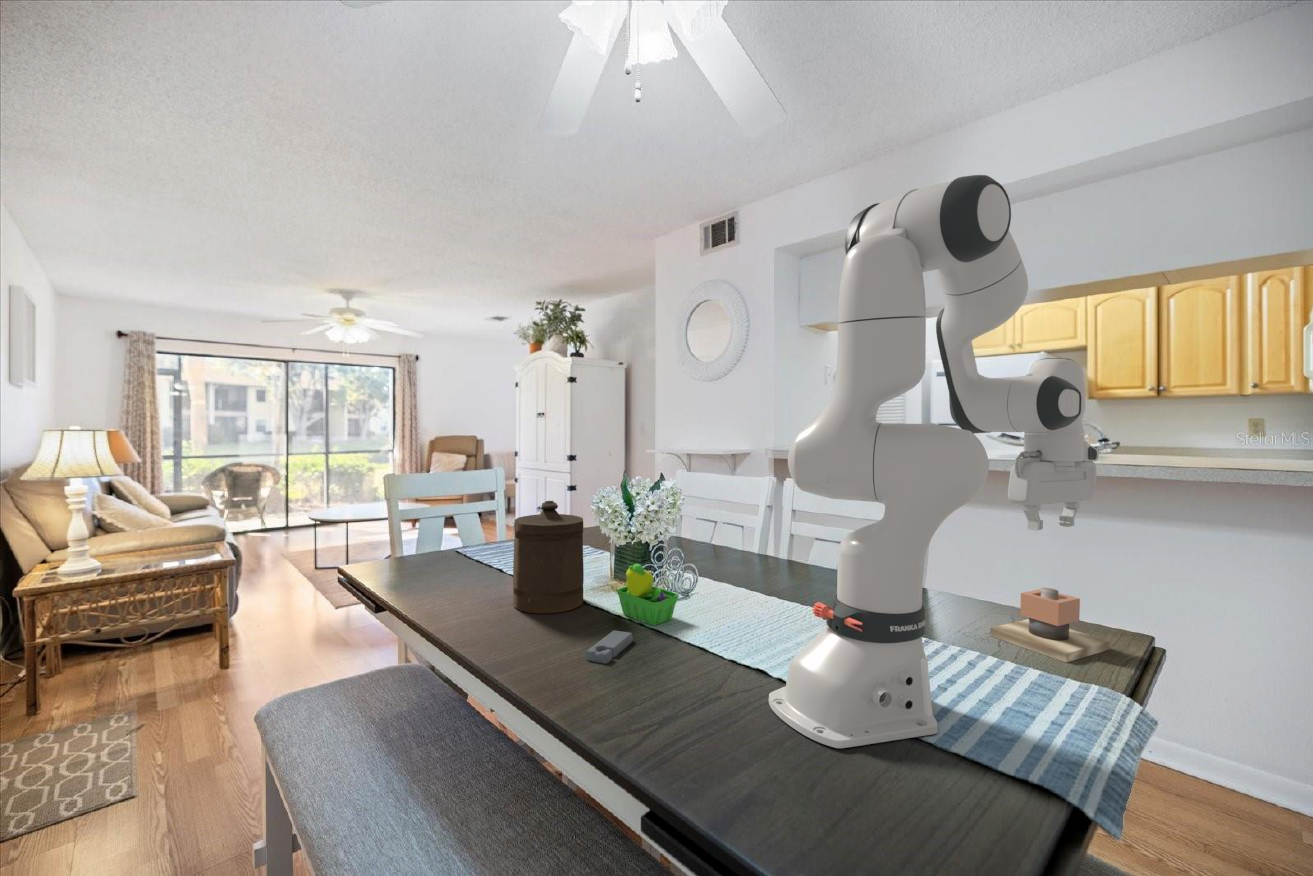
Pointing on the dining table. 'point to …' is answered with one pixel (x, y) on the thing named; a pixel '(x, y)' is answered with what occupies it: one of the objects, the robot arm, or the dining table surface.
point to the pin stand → (1050, 637)
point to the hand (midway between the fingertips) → (1051, 528)
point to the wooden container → (548, 561)
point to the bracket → (609, 647)
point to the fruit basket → (645, 597)
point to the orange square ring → (1050, 608)
